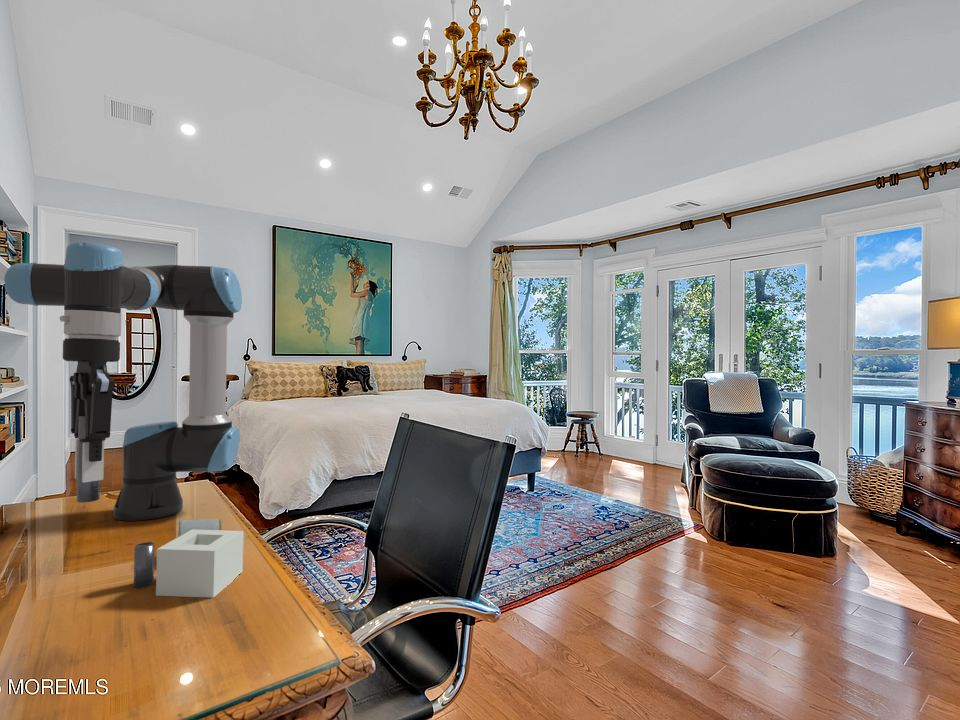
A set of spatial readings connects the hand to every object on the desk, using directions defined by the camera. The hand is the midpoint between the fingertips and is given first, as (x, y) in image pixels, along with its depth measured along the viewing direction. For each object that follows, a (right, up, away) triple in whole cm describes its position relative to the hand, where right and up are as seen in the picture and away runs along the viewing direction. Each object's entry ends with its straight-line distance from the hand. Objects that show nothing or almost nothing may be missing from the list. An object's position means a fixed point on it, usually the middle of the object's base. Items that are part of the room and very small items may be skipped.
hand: (88, 478), depth 83 cm
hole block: (+15, -21, +8) cm, 26 cm away
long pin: (0, -4, 0) cm, 4 cm away
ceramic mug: (+6, -21, +21) cm, 30 cm away
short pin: (+5, -21, +7) cm, 22 cm away
